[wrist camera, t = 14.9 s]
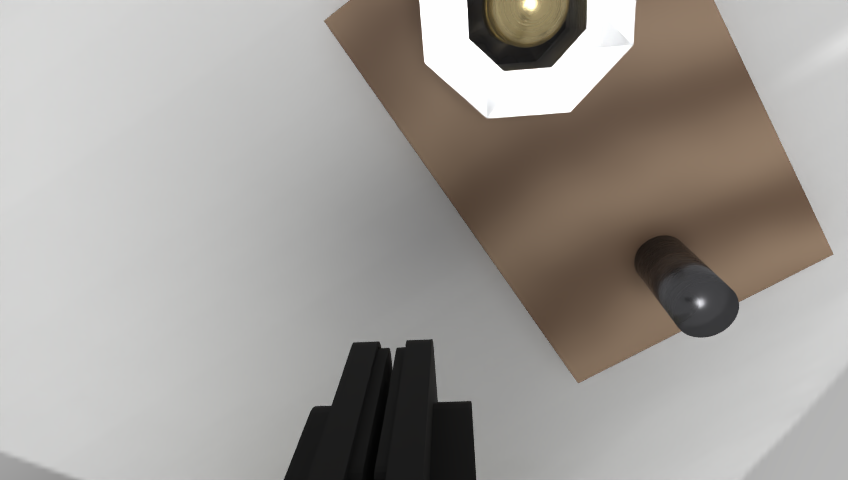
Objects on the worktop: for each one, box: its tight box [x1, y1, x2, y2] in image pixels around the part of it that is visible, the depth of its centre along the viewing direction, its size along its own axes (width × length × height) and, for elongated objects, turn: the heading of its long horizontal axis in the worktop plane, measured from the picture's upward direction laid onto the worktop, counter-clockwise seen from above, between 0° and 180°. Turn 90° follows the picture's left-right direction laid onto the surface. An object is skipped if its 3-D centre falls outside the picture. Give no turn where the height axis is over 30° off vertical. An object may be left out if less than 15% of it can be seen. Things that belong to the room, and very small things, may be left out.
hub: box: [467, 0, 569, 65], centre depth 19 cm, size 6×6×6 cm
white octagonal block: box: [420, 0, 636, 118], centre depth 19 cm, size 7×7×4 cm
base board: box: [324, 0, 833, 383], centre depth 24 cm, size 21×13×1 cm, turn 35°
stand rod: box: [634, 235, 739, 337], centre depth 23 cm, size 2×2×5 cm
